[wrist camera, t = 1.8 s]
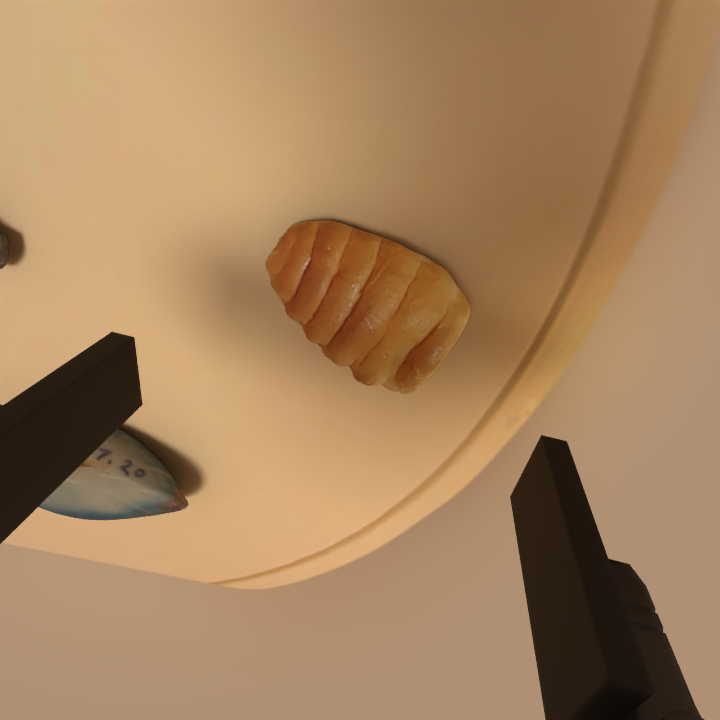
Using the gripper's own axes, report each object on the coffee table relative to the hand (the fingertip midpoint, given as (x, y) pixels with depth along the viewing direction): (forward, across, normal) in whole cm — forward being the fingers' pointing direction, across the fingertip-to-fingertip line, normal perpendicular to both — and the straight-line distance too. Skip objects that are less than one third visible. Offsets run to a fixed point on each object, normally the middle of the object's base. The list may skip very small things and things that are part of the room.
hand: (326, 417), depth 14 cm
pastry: (+10, 0, 0) cm, 10 cm away
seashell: (+10, -15, -15) cm, 23 cm away
